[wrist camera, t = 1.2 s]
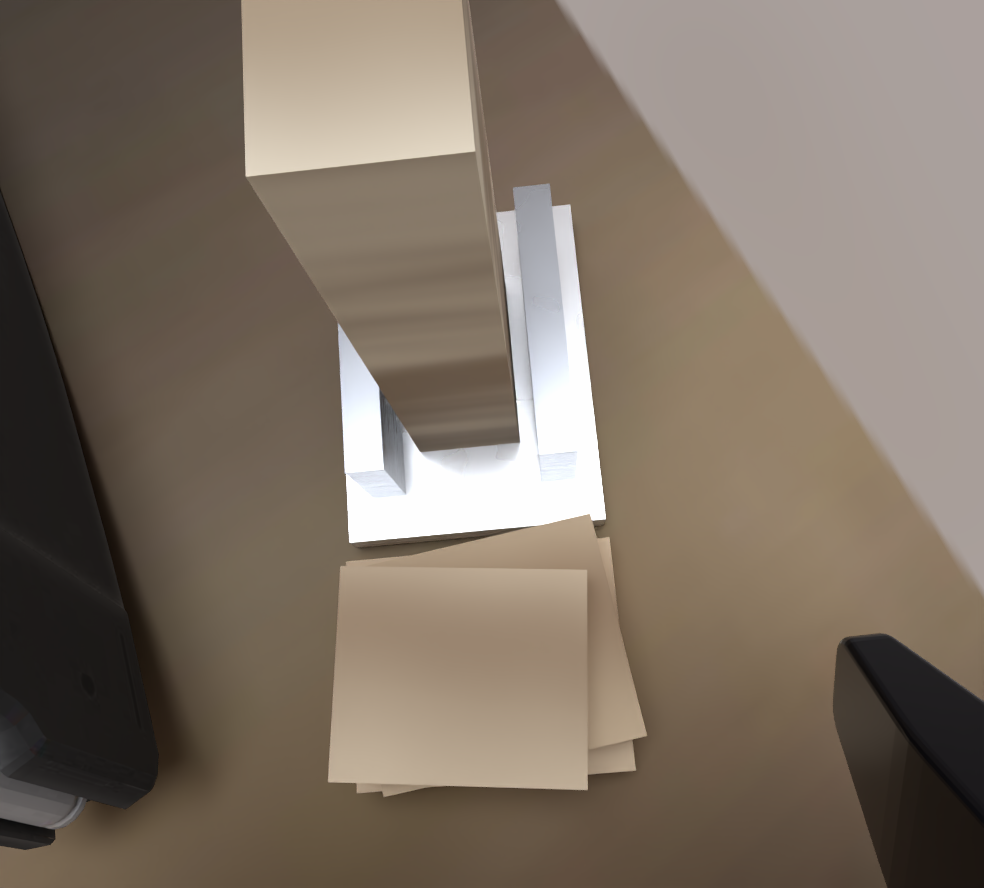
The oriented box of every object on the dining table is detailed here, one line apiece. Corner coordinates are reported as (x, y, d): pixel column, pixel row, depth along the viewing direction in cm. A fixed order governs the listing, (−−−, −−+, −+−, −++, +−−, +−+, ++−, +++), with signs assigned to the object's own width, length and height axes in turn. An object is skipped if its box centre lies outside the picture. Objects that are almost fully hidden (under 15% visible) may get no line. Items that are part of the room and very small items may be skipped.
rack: (603, 525, 23) (613, 496, 19) (358, 547, 23) (318, 523, 19) (569, 222, 25) (571, 139, 21) (343, 247, 25) (303, 169, 21)
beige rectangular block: (520, 442, 22) (475, 151, 10) (420, 452, 22) (245, 176, 10) (505, 285, 23) (447, -168, 11) (409, 296, 23) (238, -140, 11)
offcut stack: (638, 762, 21) (660, 787, 17) (370, 784, 22) (323, 815, 17) (612, 530, 23) (625, 497, 18) (358, 553, 23) (312, 527, 19)
